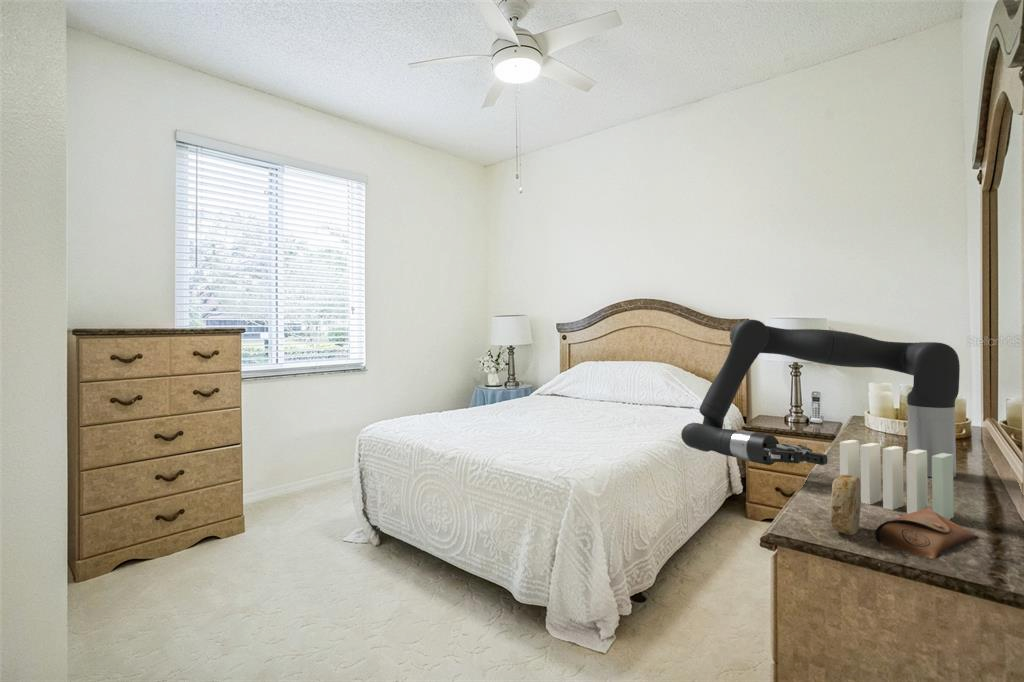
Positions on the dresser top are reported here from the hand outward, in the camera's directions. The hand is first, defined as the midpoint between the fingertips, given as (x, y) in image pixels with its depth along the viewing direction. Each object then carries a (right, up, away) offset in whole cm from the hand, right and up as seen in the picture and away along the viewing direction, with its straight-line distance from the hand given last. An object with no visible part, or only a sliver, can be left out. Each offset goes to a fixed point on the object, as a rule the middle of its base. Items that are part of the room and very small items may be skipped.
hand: (825, 460), depth 112 cm
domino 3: (+7, -7, -11) cm, 15 cm away
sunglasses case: (0, -8, -27) cm, 28 cm away
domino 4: (+9, -7, -15) cm, 18 cm away
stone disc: (-12, -7, -24) cm, 28 cm away
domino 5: (+11, -7, -18) cm, 22 cm away
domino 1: (+3, -7, -4) cm, 9 cm away
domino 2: (+5, -7, -8) cm, 11 cm away
